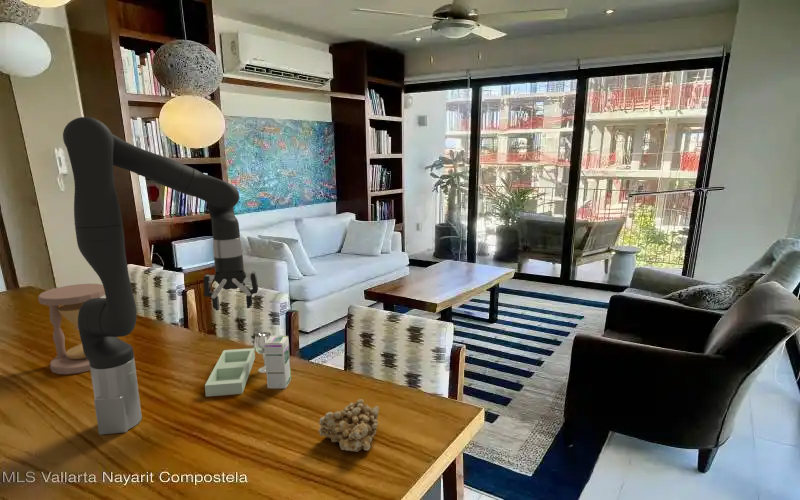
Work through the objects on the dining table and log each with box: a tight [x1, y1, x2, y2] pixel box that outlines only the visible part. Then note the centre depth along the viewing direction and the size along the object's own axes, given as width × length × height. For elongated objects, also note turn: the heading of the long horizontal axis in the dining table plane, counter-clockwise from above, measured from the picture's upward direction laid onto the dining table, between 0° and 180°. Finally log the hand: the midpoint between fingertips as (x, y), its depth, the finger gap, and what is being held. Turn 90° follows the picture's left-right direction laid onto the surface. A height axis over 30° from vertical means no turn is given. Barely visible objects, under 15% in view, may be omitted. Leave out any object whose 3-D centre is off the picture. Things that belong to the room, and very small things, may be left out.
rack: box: [204, 347, 256, 397], centre depth 135 cm, size 24×10×4 cm, turn 10°
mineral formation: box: [318, 398, 380, 453], centre depth 104 cm, size 8×13×15 cm
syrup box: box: [264, 335, 292, 390], centre depth 129 cm, size 6×6×14 cm
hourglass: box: [37, 283, 105, 375], centre depth 142 cm, size 18×18×25 cm
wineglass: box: [253, 331, 272, 374], centre depth 138 cm, size 6×6×12 cm
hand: (233, 308), depth 124 cm, fingers open, 8 cm apart
